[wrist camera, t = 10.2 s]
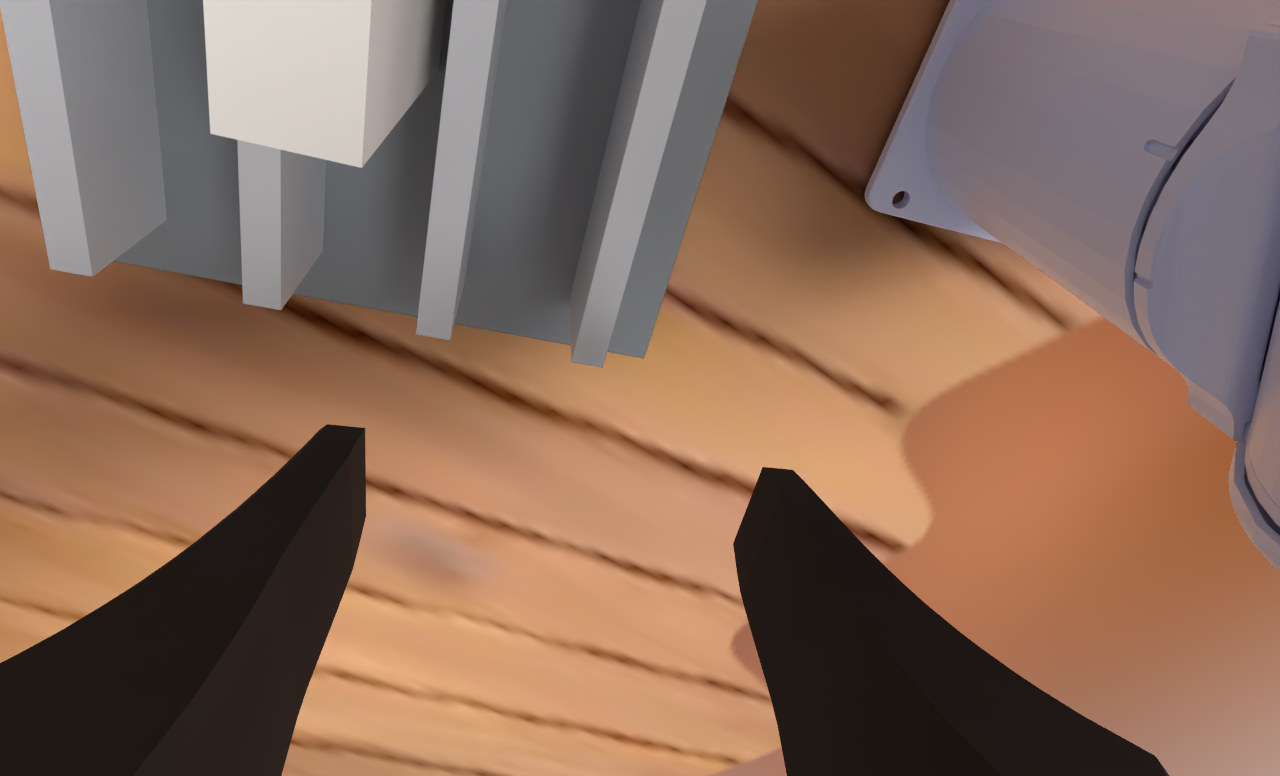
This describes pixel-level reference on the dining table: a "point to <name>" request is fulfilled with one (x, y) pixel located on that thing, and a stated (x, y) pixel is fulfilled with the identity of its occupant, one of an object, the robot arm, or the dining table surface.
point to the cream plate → (318, 71)
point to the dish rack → (395, 164)
